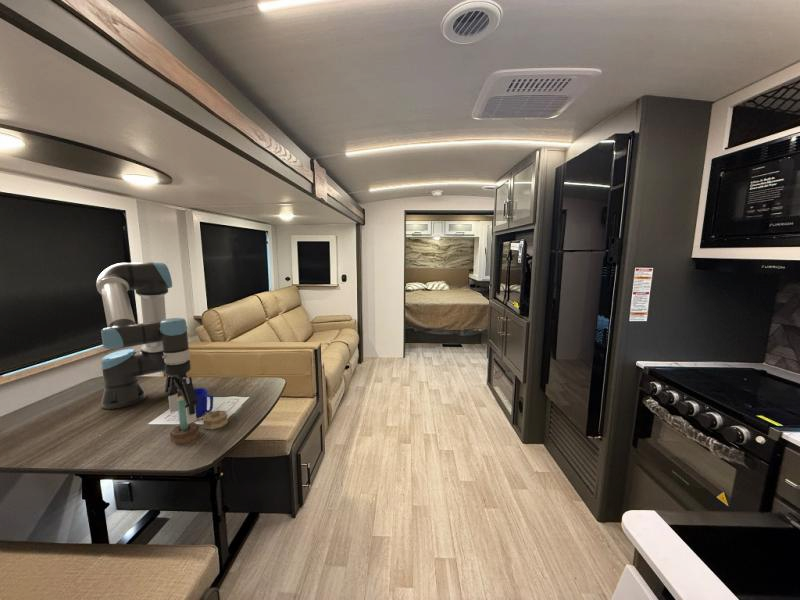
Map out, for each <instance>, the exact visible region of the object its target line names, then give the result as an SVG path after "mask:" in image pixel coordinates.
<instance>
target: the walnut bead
mask: <svg viewBox="0 0 800 600" xmlns="http://www.w3.org/2000/svg"><path fill="white" fill-rule="evenodd" d="M188 427H189V429H187V430H185V431H180V424H179V425H176V426H174V427H173V428H172V429H171V430H170V431H169V434H170V441H171V442H172V443H173V444H175V445H177V444H178V445H179V444H185V443H188V442H191V441H193V440H195V439H197V437H198V436H199V434H200V429H199V427H200V426H199V424H198V423H197V422H196V421H195V422H192V423H189V424H188Z"/></svg>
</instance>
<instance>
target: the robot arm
mask: <svg viewBox="0 0 800 600" xmlns="http://www.w3.org/2000/svg"><path fill="white" fill-rule="evenodd" d="M95 286H96V289H97V290H96V291H97V292H98V293H99V294H100V295H101V298H102V303H103V309H104V314H105V320H106V325H107V327H103V328H102V329H100V333H101V340H102V347H103V349H105V350H116V349H121V350H117V351H113V352H111V353H109V354H107V355H105V356H103V357H102V359H101V360H100V362H101V368H100V369H101V370H102V378H103V385H104V391H103V395H102V398H101V401H100V402H101V403H100V404H101V408H102V407H103V408H102V409H105V410H113V409H114V410H115V408H116V409H122V408H125V407H129V405H130V406H132V405H135V404H137V403H140V402H141V401H143V400H144V399H145V398H146V391H145V389H144V388H143V386H142V385H141V383H140V382H139V377H141V376H142V377H143V376H146V375H147V376H148V375H152V374H156V373H161V372H165V373H164V374H166V378H165V379H166V381H165V388H164V392H165V394H166V395H167V396H168V397H167V398H168V405H169V407H168V408H169V413H171V414H172V413H175V412H178V402H177V399H178V397H179V395H178V393H179V391H180V392H181V393H180V394H181V396H183V398H184V400H185V402H186V406H185V408H186V416H187V424H189V423H192V422H194V421H195V422H197V421H198V420H196V419H197V417H196V410H195V405H196V404H198V400H197V397H196V394H195V390H194V389H195V388H194V385H193V378H192V376H188V375H187V373H188V372H189V371H191V368H192V367H191V360H190V359H191V357H190V347H189V338H188V326H187V321H186V319H185V318H182V317H173V318H172V317H171V318H167V313H166V311H167V310H166V300H165V299H166V297H165V296H166V295H167V294H168V293H169V289H170V288H172V287H173V280H172V276H171V272H170V270H169V268H168V265H166V263H164V262H154V261H153V262H152V261H151V262H149V261H148V262H119V263H115V264H112V265H110V266H108V267H107V268H105V269H103V271H102V272H101V273H100V274H99V275H98V277H97V279H96V283H95ZM128 291H135V294H136V295H138V296H139V297H140V307H141V316H142V323H136V320H135V317H134V312H133V309H132V306H131V300H130V298H129V294H128ZM136 346H141V347H140V350H138V351H136V350H135V349H133V348H129V347H136ZM123 348H126V349H123ZM127 348H128V349H127Z"/></svg>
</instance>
